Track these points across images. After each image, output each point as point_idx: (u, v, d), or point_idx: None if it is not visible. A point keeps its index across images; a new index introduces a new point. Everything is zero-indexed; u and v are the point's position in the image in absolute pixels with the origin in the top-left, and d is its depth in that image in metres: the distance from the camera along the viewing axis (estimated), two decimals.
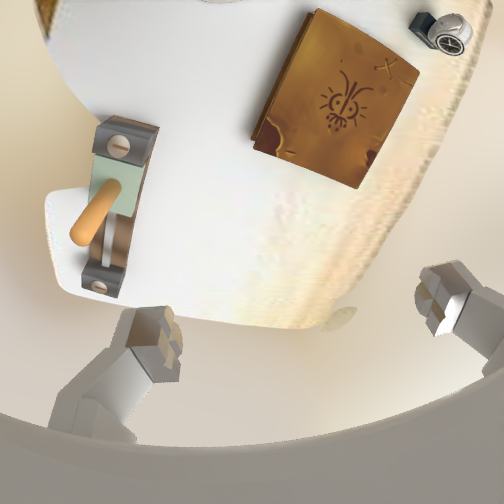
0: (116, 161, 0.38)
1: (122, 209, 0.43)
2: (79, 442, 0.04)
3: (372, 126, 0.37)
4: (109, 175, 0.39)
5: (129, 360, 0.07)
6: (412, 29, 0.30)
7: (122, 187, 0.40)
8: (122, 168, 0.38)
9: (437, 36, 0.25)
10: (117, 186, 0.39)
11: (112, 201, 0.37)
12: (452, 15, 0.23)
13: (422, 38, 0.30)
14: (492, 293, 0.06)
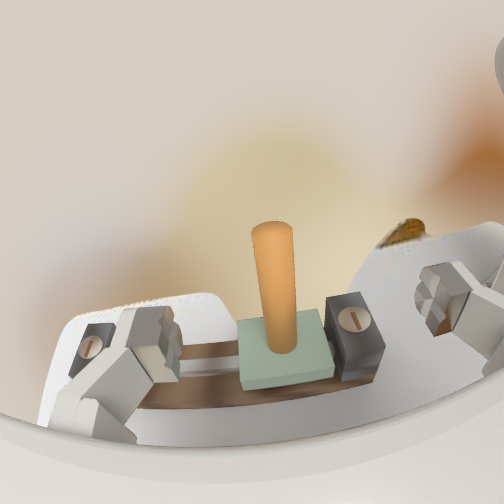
0: (323, 333, 0.29)
1: (250, 365, 0.27)
2: (79, 442, 0.04)
3: None
4: (297, 333, 0.29)
5: (129, 360, 0.07)
6: None
7: (288, 354, 0.27)
8: (318, 343, 0.28)
9: None
10: (293, 341, 0.27)
11: (286, 324, 0.25)
12: None
13: None
14: (492, 293, 0.06)
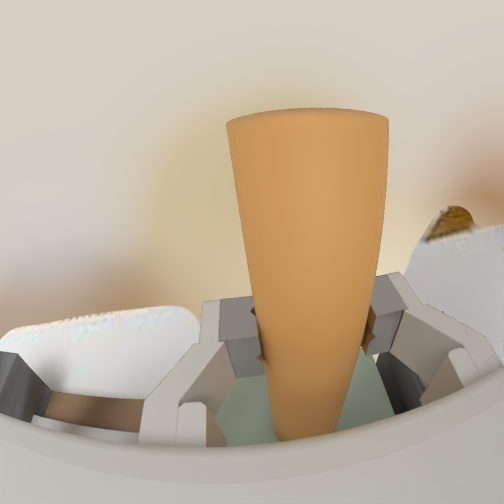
0: (387, 400, 0.12)
1: None
2: (79, 442, 0.04)
3: None
4: None
5: (223, 355, 0.07)
6: None
7: None
8: None
9: None
10: (333, 429, 0.10)
11: (326, 412, 0.08)
12: None
13: None
14: (435, 312, 0.06)
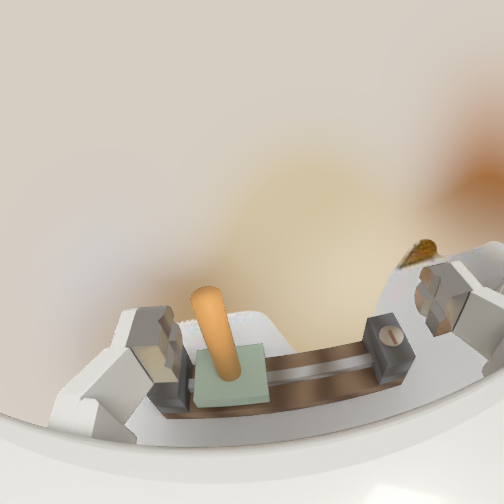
0: (264, 366, 0.34)
1: (202, 388, 0.32)
2: (79, 442, 0.04)
3: None
4: (243, 364, 0.35)
5: (129, 360, 0.07)
6: None
7: (232, 381, 0.33)
8: (258, 374, 0.33)
9: None
10: (236, 372, 0.32)
11: (225, 361, 0.30)
12: None
13: None
14: (492, 293, 0.06)
